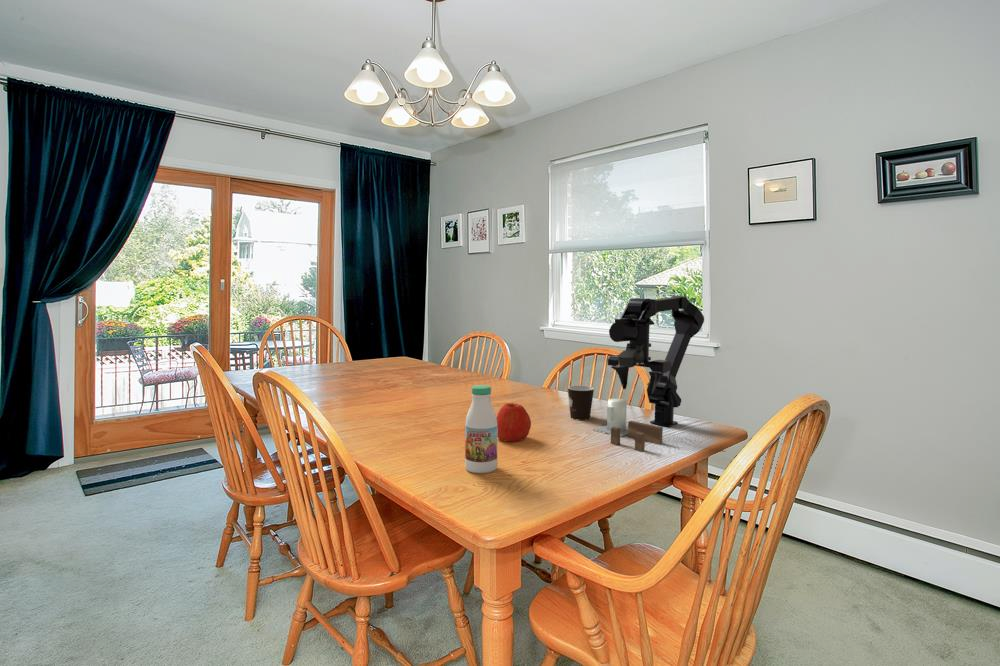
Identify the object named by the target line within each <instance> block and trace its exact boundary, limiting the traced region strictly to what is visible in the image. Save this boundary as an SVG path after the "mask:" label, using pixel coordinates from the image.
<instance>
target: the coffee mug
mask: <svg viewBox="0 0 1000 666" xmlns="http://www.w3.org/2000/svg"><path fill="white" fill-rule="evenodd" d="M594 390H595V388H594V387H593V386H589V385H570V386H568V387H567V396H568V405H569V415H570V418H571V419H572V418H573V419H572V420H576V419H579V420H578V421H585V419H587V420H590V419H589V418H591V412H592V404H593V398H594Z"/></svg>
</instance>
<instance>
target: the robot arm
mask: <svg viewBox="0 0 1000 666" xmlns="http://www.w3.org/2000/svg"><path fill="white" fill-rule="evenodd" d="M667 311H671V317H672V319H674V322H673V326H674V329H675V333H674V336H673V338H672V341H671V343H670V346H669V349H668V351H667V354H666V356H665V358H664V359H655V360H652V357H651V356H649V355H650V348H651V347H652V343H650V326H651V325H652V326H653V325H655V322H654V321H653V320H652V319H651V318H652V317H654V316H656V315H657V313H661V312H667ZM704 322H705V316H704V315H703V313H702V312H701V310H700V308H699V307H697V305H695V304H693V303H692V302H690V300H689V299H688V298H687V297H686V296H684V295H683V296H680V295H672V296H671V297H664V298H657V299H654V298H653V299H652V298H636V297H634V298H630V299H629V300H628V302H627V304H626V306H625V308H624V309H623V312H622V313H621V316H620V317H618V318H614V322H613V323H612V324H611V325H610V327H609V331H608V333H609V334H608V335H609V337H610V340H612V341H613V342H615V343H620V342H621V343H622V342H628V343H626V346H625V348H626V349H624V350H622V351H621V352H620V353H618V354H614V355H610V356H609V357H608V359H607V366H610V367H611V369H613V370H614V371H615V372H616V373H617V375H618V378H619V380H620V384H621V387H622V389H623V390H626V389H627V386H628V377H629V370H630V369H629V368H634V367H641V368H649V369H650V371H649V372H648V374H649V376H650V378H649V380H648V382H647V387H646V393H647V394H646V395H647V398H648V403H649V404H654V417H653V418H654V419H653V420H651V421H649V423H650V424H651V425H656V426H661V427H668V428H669V427H672V426H675V425H677V424H679V423H678V421H676V420H674V417H675V416H674V415H675V413H674V412H675V411H674V410H675V409H674V408H679V407H680V406H681V403H682V398H681V397H680V395H679V394H678V392H677V390H678V385H677V384H678V383H677V379H676V377H677V374H678V372H679V370H680V366H681V365H682V361H683V359H684V357H685V354H686V352H687V349H688V347H689V343H690V342H691V339H692V338H693V337H694V336H695V335H697V334H698V333H699V332H700V330H701V328H702V327H703V324H704Z"/></svg>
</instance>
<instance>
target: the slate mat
mask: <svg viewBox="0 0 1000 666" xmlns="http://www.w3.org/2000/svg"><path fill="white" fill-rule="evenodd" d="M594 430H597V431H596V432H598V431H601V432H600V433H602V432H605V433H604V434H606V433H609V434H608V435H610V434H611V431H609V430H607V424H605V425H603V426H599V427H595V428H593V430H592V431H594ZM625 435H626V436H628V426H626V431H624V432H620V438H624V437H626V436H625ZM623 436H624V437H623Z"/></svg>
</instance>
